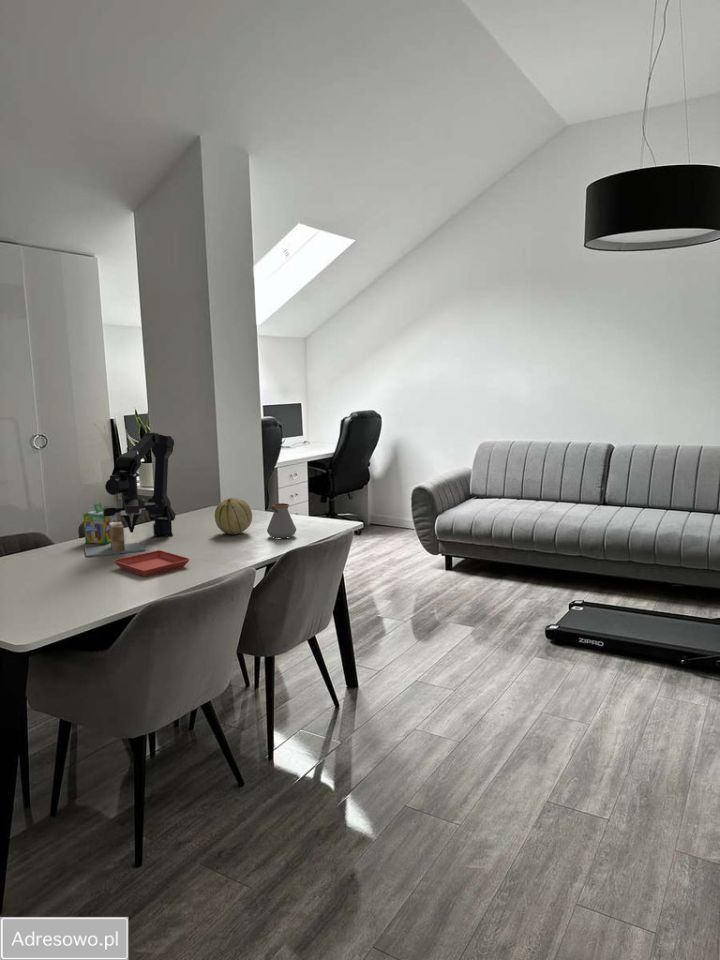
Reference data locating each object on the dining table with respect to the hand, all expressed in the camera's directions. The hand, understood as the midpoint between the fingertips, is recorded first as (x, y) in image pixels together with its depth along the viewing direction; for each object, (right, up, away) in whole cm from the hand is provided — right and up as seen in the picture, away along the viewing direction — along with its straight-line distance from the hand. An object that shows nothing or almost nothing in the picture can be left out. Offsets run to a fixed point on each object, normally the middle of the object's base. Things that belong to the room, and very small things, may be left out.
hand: (131, 532), depth 260 cm
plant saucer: (+15, -11, -25) cm, 31 cm away
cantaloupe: (+33, -3, +24) cm, 41 cm away
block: (-5, -6, -1) cm, 8 cm away
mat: (-6, -6, -1) cm, 9 cm away
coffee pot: (+53, -4, +13) cm, 54 cm away
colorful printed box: (-15, -5, +13) cm, 20 cm away
